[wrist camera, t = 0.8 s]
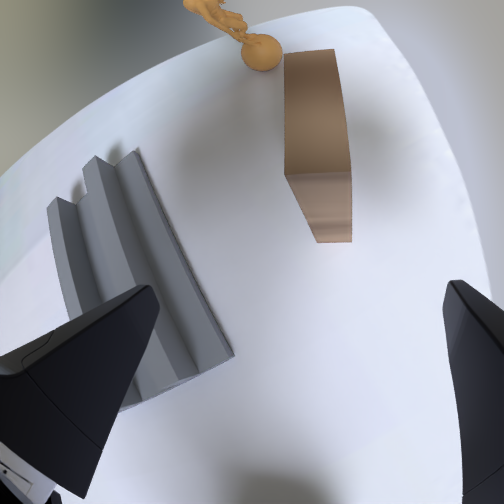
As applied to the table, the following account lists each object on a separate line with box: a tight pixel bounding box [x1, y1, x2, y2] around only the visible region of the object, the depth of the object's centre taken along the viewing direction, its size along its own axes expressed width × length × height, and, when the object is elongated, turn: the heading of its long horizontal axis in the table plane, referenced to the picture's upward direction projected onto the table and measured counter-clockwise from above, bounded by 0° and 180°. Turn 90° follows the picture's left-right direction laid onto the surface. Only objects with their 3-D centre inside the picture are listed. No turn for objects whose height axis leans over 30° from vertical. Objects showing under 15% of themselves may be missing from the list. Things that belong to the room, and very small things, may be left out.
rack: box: [47, 151, 234, 413], centre depth 24 cm, size 22×14×4 cm, turn 30°
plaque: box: [284, 49, 352, 243], centre depth 16 cm, size 7×2×11 cm, turn 177°
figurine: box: [183, 0, 282, 71], centre depth 21 cm, size 8×6×12 cm
